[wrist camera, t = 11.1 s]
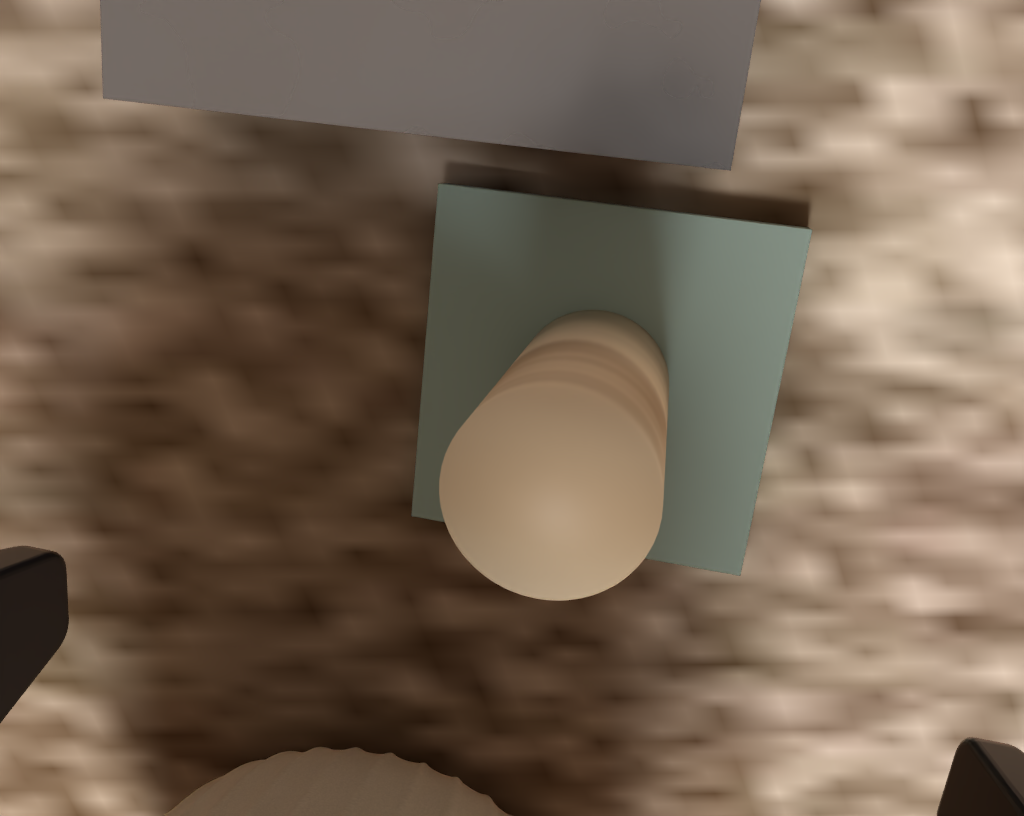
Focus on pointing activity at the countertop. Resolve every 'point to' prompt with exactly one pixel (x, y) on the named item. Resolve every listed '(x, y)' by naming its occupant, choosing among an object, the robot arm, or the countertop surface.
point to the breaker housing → (453, 68)
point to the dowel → (563, 461)
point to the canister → (335, 788)
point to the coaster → (641, 298)
